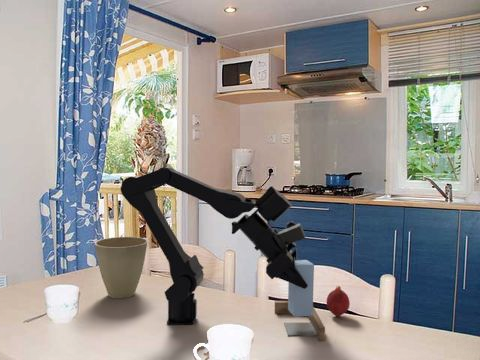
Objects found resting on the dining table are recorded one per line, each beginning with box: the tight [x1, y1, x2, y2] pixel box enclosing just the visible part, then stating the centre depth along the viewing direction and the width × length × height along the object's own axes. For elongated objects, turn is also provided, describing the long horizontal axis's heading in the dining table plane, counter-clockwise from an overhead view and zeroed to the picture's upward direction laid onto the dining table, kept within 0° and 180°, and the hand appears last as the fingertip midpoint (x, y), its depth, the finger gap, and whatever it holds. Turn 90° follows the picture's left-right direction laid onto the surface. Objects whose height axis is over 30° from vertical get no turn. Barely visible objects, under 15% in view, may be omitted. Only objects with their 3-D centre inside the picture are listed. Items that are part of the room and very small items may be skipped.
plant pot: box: [94, 236, 148, 299], centre depth 119 cm, size 15×15×16 cm
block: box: [287, 259, 315, 318], centre depth 95 cm, size 4×4×12 cm
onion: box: [326, 285, 351, 318], centre depth 104 cm, size 6×6×8 cm
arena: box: [274, 300, 326, 342], centre depth 98 cm, size 9×17×3 cm, turn 1°
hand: (306, 283), depth 95 cm, fingers closed on block, 6 cm apart
